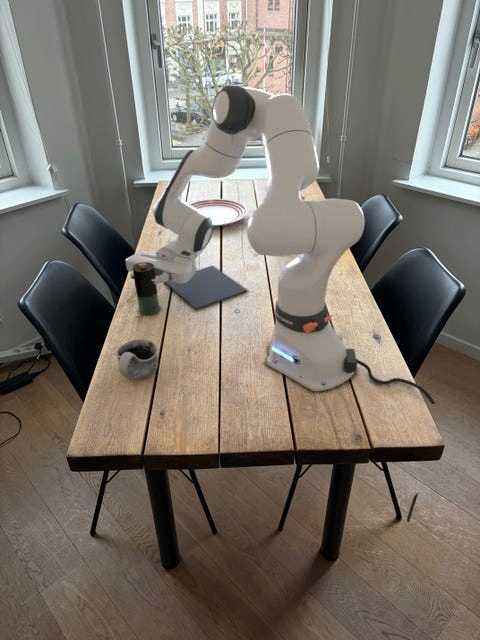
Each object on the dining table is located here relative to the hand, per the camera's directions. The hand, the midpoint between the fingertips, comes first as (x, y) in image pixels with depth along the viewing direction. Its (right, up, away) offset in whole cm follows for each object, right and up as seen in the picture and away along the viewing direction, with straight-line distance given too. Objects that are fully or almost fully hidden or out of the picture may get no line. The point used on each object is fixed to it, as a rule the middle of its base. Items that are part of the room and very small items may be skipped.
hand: (143, 279), depth 131 cm
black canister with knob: (0, -4, +4) cm, 5 cm away
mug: (+3, -25, -18) cm, 31 cm away
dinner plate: (+16, +31, +65) cm, 74 cm away
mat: (+16, -1, +17) cm, 23 cm away
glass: (+1, -8, +7) cm, 11 cm away
